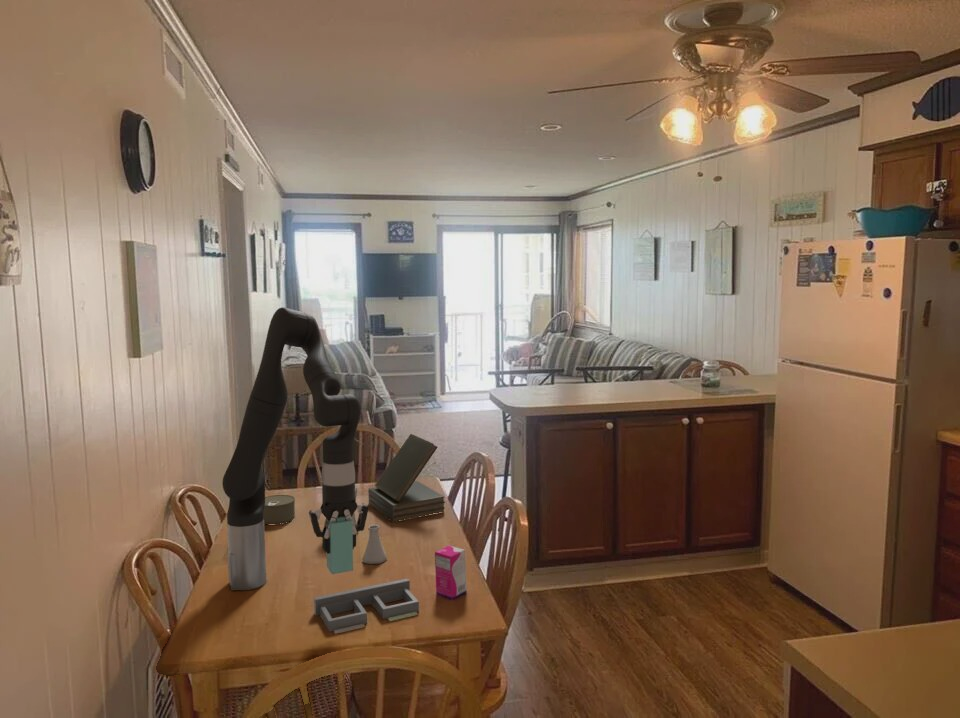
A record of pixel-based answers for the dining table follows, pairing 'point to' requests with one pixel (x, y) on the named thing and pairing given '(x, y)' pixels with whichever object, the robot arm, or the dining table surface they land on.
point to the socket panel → (365, 597)
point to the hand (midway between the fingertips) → (339, 550)
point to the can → (279, 509)
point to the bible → (406, 484)
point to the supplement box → (450, 572)
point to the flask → (374, 547)
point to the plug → (340, 546)
